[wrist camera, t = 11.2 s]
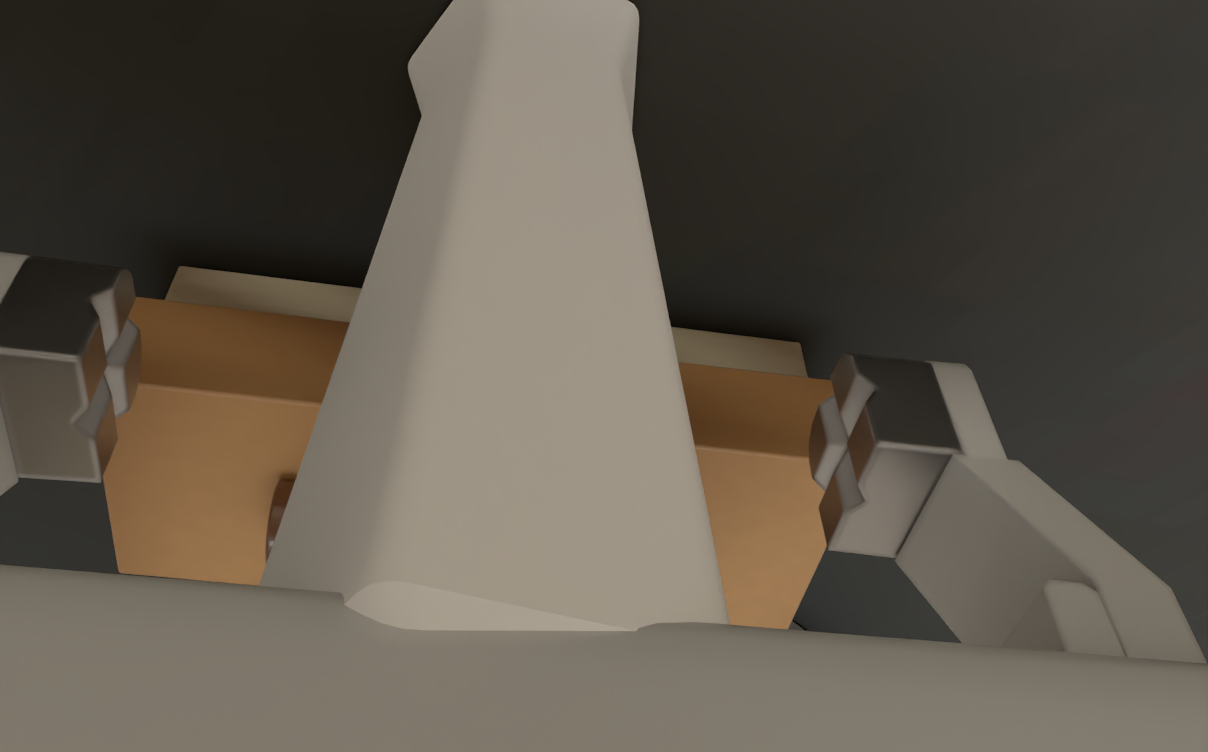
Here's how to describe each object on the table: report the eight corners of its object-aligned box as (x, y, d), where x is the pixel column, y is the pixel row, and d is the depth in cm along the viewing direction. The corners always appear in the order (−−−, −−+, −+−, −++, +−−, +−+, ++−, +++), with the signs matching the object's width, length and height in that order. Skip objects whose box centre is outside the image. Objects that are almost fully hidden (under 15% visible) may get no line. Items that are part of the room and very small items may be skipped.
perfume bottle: (563, 236, 21) (546, 1237, 10) (354, 103, 19) (47, 1153, 8) (733, 53, 19) (960, 1097, 8) (513, -119, 17) (388, 930, 6)
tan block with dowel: (169, 434, 24) (95, 631, 21) (148, 243, 21) (57, 436, 17) (764, 498, 26) (795, 691, 22) (831, 329, 23) (880, 522, 19)
